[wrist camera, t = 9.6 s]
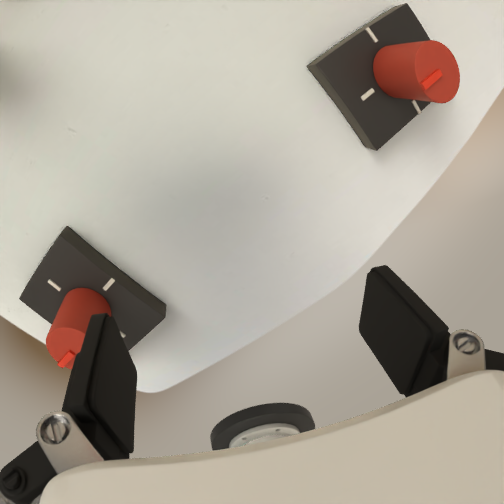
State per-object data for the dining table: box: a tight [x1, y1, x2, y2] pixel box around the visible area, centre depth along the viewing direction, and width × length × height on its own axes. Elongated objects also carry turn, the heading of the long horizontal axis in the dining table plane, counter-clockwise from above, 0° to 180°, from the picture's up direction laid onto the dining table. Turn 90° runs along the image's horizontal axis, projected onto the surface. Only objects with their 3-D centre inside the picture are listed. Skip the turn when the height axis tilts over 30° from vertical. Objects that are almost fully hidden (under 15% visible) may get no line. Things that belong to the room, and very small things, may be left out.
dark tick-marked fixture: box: [19, 226, 166, 351], centre depth 26 cm, size 12×9×2 cm
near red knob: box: [46, 288, 111, 369], centre depth 23 cm, size 5×5×6 cm
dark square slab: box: [307, 3, 431, 151], centre depth 22 cm, size 12×9×2 cm
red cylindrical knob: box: [373, 40, 460, 103], centre depth 19 cm, size 5×5×6 cm
